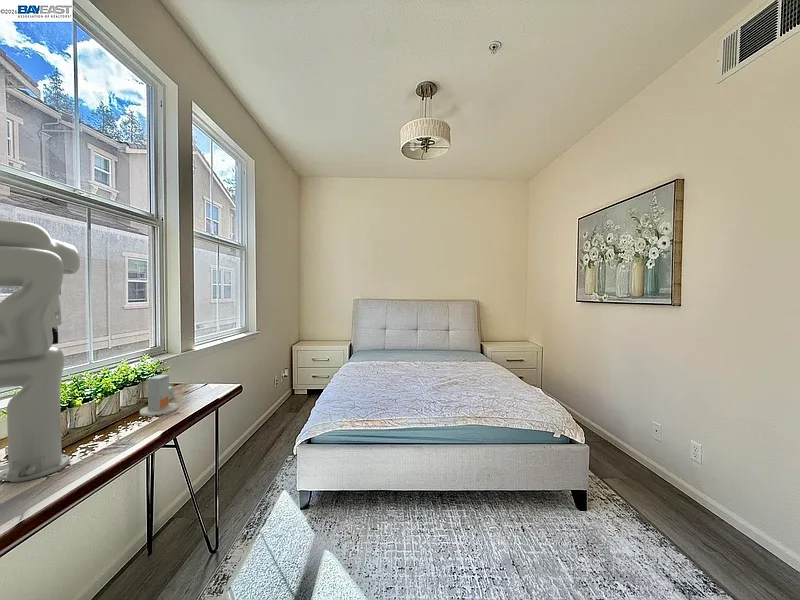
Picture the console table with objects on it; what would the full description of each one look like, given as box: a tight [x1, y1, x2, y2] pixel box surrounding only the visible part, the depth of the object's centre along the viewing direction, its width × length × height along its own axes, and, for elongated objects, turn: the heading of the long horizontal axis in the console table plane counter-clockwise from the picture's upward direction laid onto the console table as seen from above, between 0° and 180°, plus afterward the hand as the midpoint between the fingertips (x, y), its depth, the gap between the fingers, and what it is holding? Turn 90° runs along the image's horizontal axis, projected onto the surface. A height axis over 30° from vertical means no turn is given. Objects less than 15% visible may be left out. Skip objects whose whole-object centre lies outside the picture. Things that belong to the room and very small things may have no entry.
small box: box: [169, 385, 175, 402], centre depth 148 cm, size 8×8×5 cm
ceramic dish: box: [139, 402, 179, 417], centre depth 136 cm, size 12×12×1 cm
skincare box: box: [147, 374, 170, 410], centre depth 135 cm, size 6×4×12 cm
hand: (45, 346), depth 111 cm, fingers open, 9 cm apart
